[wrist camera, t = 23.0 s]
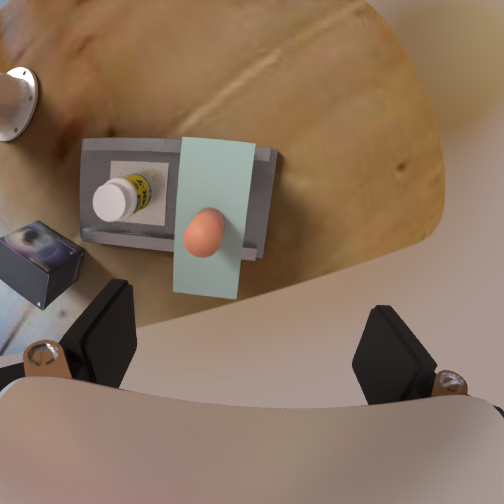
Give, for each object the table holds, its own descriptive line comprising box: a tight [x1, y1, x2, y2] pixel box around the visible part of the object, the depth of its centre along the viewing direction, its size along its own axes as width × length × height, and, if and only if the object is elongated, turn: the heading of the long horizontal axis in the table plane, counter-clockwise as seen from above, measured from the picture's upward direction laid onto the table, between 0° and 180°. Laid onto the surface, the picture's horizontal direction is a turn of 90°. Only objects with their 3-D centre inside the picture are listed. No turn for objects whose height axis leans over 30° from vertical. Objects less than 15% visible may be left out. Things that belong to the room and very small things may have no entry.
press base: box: [80, 138, 278, 261], centre depth 35 cm, size 26×14×3 cm, turn 83°
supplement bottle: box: [93, 174, 152, 222], centre depth 31 cm, size 5×5×8 cm
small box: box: [0, 221, 85, 311], centre depth 34 cm, size 11×6×10 cm, turn 61°
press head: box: [173, 137, 256, 299], centre depth 27 cm, size 6×14×15 cm, turn 173°
